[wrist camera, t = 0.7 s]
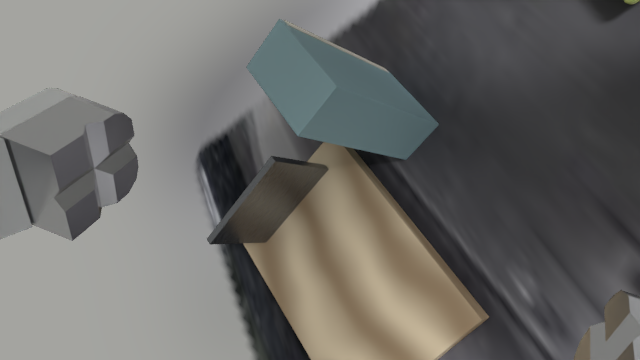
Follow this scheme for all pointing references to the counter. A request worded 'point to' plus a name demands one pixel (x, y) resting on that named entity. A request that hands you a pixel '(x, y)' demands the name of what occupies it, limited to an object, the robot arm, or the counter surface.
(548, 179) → the counter surface
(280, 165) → the bookend
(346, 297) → the shelf board
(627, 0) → the saucer
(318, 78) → the tall teal pillar
